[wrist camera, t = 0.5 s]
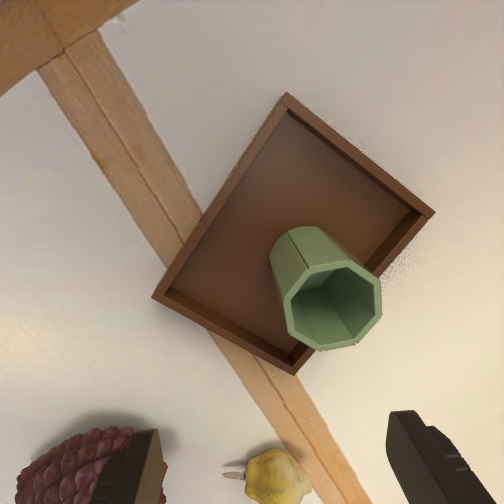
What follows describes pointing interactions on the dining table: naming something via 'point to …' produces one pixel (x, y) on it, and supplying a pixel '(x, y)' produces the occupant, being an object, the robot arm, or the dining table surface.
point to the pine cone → (72, 469)
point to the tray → (285, 229)
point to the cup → (323, 289)
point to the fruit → (274, 478)
